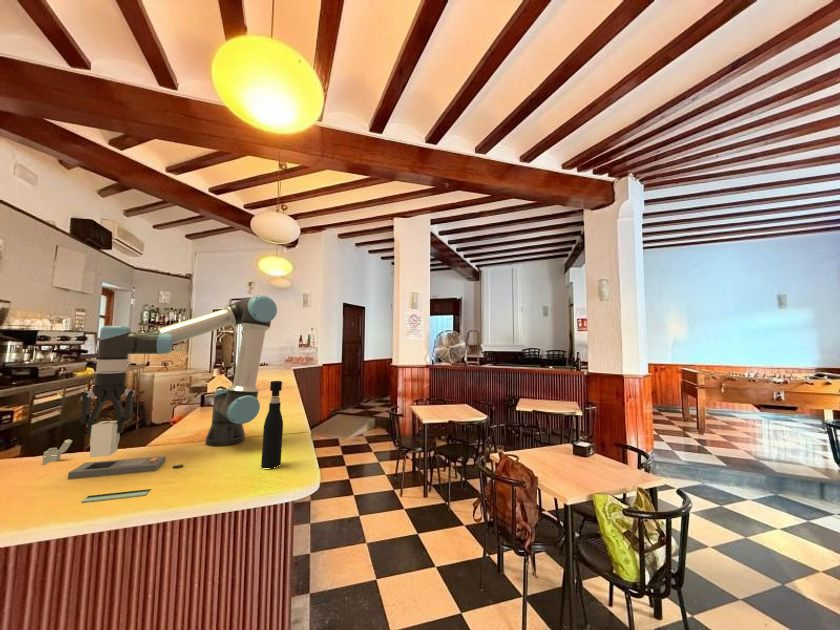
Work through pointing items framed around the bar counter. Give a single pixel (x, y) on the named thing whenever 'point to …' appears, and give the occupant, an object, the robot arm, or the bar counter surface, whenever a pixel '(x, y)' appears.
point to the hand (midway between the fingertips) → (104, 443)
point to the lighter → (55, 453)
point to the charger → (103, 439)
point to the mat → (115, 495)
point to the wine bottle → (273, 430)
